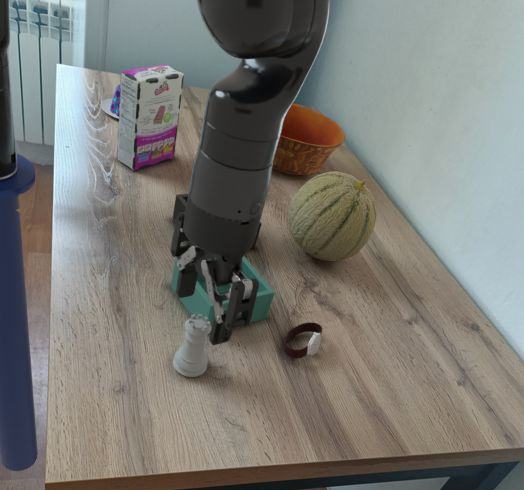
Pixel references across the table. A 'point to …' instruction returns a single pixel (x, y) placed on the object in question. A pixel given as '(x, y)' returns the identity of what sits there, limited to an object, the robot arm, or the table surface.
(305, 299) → the table surface
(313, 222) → the cantaloupe
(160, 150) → the candy bar box
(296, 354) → the watch
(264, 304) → the sea-green bin
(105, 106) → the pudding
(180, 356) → the rook chess piece
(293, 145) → the bowl
